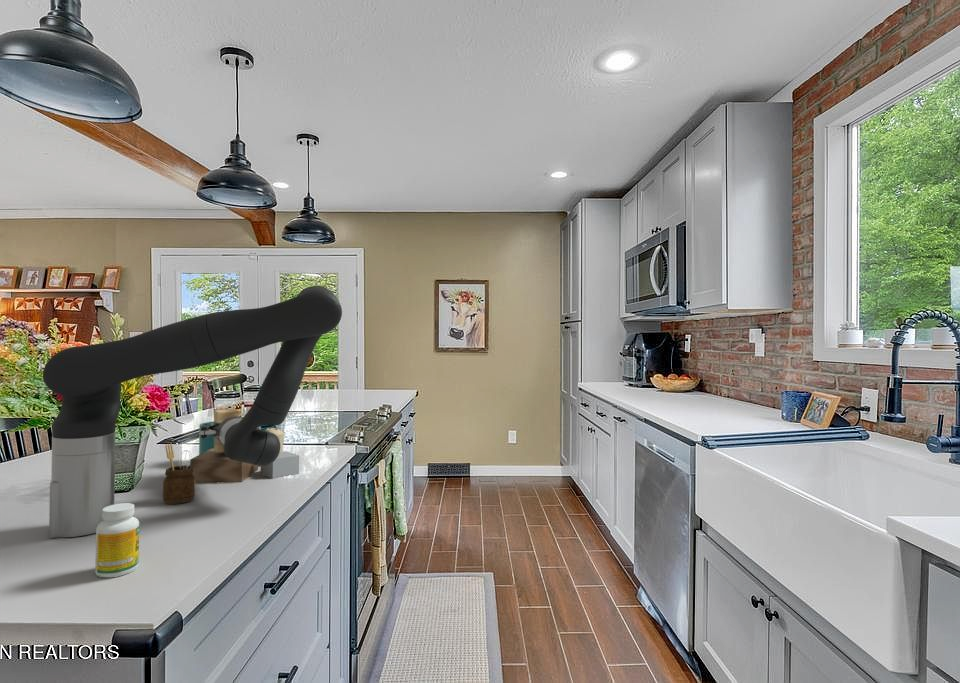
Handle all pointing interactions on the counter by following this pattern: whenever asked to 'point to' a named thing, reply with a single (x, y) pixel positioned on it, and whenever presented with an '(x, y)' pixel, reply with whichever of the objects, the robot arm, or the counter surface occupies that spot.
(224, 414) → the oak pillar
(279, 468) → the grey block
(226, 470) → the walnut block
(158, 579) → the counter surface
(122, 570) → the supplement bottle
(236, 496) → the counter surface
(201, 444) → the cup
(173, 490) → the utensil holder
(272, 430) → the candle
